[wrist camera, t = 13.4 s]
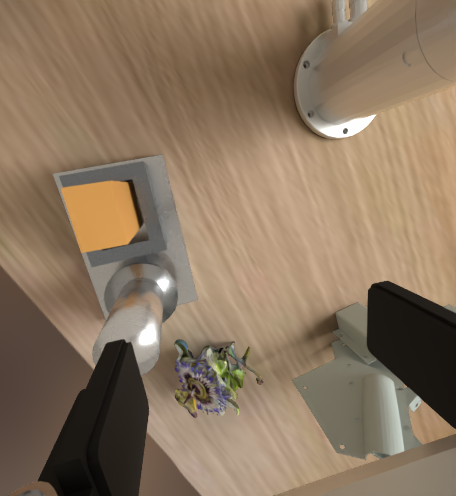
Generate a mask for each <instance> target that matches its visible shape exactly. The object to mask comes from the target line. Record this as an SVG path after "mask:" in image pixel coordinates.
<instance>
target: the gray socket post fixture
mask: <svg viewBox="0 0 456 496" xmlns="http://www.w3.org/2000/svg"><path fill="white" fill-rule="evenodd" d="M53 177H54V179H55V182H56V185H57V188H58V190H59V193H60V196H61V199H62V201H63V204H64V207H65V210H66V212H67V215H68V218H69V221H70V223H71V226H72V222H71V219H70V216H69V213H68V210H67V207H66V204H65V201H64V197H63V194H62V191H61V188H64V187H70V186H77V185H84V184H91V183H97V182H104V181H121V182H132V183H133V185H134V190H135V194H136V198H137V202H138V206H139V210H140V214H141V218H142V222H143V225H142V227H141V228H140V229H139V230H138V232H137V233H136V234H135V236H134V237H133V238H132V239H131V241H130V242H129V243H128V244H127V245H122V246H116V247H111V248H106V249H101V250H95V251H90V252H85V253H82V256H83V259H84V262H85V264H86V267H87V270H88V273H89V275H90V278H91V281H92V284H93V286H94V289H95V292H96V295H97V297H98V300H99V303H100V306H101V308H102V311H103V314H104V317H105V319H106V322H105V324H104V326H103V328H102V330H101V332H100V334H99V336H98V338H97V340H96V342H95V344H94V347H93V353H92V355H93V360H94V363H95V365H97V362H98V360H99V358H100V356H101V353H102V351H103V349H104V346H105V344H106V343H108V342H112V341H116V340H121V339H125V341H126V343H127V342H131V343H132V346H133V349H134V353H135V356H136V360H137V364H138V367H139V371H140V374H141V376H142V375H144V374H146V373H147V372H149V371H150V370H151V369H152V368H153V367H154V365H155V364H156V362H157V360H158V358H159V352H160V340H161V327H162V323H163V322H164V321H166V320H167V319H168V318H169V317H170V316H171V315H172V313H173V312H174V310H175V308H176V306H177V305H181V304H185V303H189V302H192V301H196V300H198V297H197V293H196V289H195V285H194V281H193V276H192V272H191V268H190V264H189V260H188V256H187V252H186V248H185V244H184V239H183V235H182V231H181V227H180V223H179V219H178V215H177V211H176V207H175V202H174V198H173V194H172V190H171V186H170V182H169V178H168V174H167V169H166V165H165V161H164V157H163V155H157V156H151V157H146V158H140V159H134V160H129V161H123V162H117V163H111V164H106V165H100V166H94V167H88V168H83V169H77V170H71V171H66V172H60V173H54V174H53ZM72 229H73V226H72ZM73 231H74V229H73ZM74 234H75V232H74ZM75 237H76V235H75ZM76 240H77V238H76ZM77 242H78V241H77ZM78 245H79V244H78ZM79 248H80V247H79ZM80 251H81V250H80Z"/></svg>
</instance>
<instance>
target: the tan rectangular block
mask: <svg viewBox="0 0 456 496" xmlns="http://www.w3.org/2000/svg"><path fill="white" fill-rule="evenodd" d="M61 191H62V194H63V197H64V201H65V204H66V207H67V210H68V213H69V216H70V219H71V222H72V226H73V229H74V232H75V235H76V238H77V241H78V244H79V247H80V250H81V253H85V252H90V251H95V250H101V249H106V248H111V247H116V246H122V245H127V244H128V243H129V242H130V241H131V239H132V238H133V237H134V236H135V234H136V233H137V232H138V230H139V229H140V228H141V227H142V225H143V222H142V218H141V214H140V210H139V206H138V202H137V198H136V194H135V190H134V185H133V183H132V182H121V181H104V182H97V183H91V184H84V185H77V186H70V187H64V188H61Z"/></svg>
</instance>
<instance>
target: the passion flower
mask: <svg viewBox="0 0 456 496" xmlns="http://www.w3.org/2000/svg"><path fill="white" fill-rule="evenodd" d="M234 343H235V342H233V343H232V344H231V346H227V347H226V348H220V349H215V348H214V347H213V348H212V347H211V346H206V347H205V348H204V349H203V351H202V353H201V354H200V356H199V357H198V358H196V359H194V358H193V355H192V352H191V351H189V350H188V346H187V344H186V342H185V341H184V340H180V339H178V340H176V342H175V343H174V345H175V346H176V347H177V350H178V352H179V357H178V358H177V360H176V363H177V365H176V367H175V370H176V372H178V375H179V378H180V382H183V385H182V387H183V388H184V389H180V390H178V389H176V390H175V392H176V393H177V394H175V398H176V400H177V401H178V403H179V404H180V405H181V406H183V407H185V408H186V409H188V411H189V413H190V414H191V415H192V416H193V417H194V418H196V417H197V413H196V407H197V408H198V409H201V410H203V412H204V411H205V410H206V412H207V414H208V413H209V412H210V411H211V412H213V413H215V412H218V414H219V415H220V416H223V415H224V413H225V408H227V407H226V406H225V405H227V406H229V407H231V408H234V410H235V412H236V413H237V414H236V415H239V407H238V405H237V404H236V403H235V402H234V401H233V400H232V399H231V398H234V400H236V399H237V398H238V395H237V393H236V392H235V391H236V389H237V388H238V387H240V388H242V387H243V377H244V376H245V374H246V372H245V371H244V370H242V369H241V367H243V366H245V367H246V368H247V369H249V370H250V371H251V372H253V373H255V374H256V375H257V376H258V377H260V378H261V379H262V377H261V376H260V375H259V374H258V373H256V372H255V371H254V370H252V369H251V368H249V367H247V366H246V364H245V362H246V359H247V357H248V354H249V352H250V347H248V349H247V351H246V353H245V355H244V356H243V358H242V359H238V358H236V355H235V351H234ZM222 351H224V357H223V355H222ZM218 354H219V357H218ZM229 355H230V356H231V357H233V358H234V359H235V360H236V361H237V364H236V365H231V364H230V362H229ZM226 362H227V363H228V369H227V366H226V365H227V363H226ZM221 377H224V378H223V380H222V378H221ZM256 380H257V383H258V384H259V385H262V383H263V379H262V380H260V379H259V378H256ZM218 414H217V415H218Z"/></svg>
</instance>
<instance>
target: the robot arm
mask: <svg viewBox="0 0 456 496" xmlns="http://www.w3.org/2000/svg"><path fill="white" fill-rule="evenodd" d="M349 8H350V20H346V19H345V10H346V7H345V0H332V15H333V23H334V24H333V25H332V27H331V29H328V30H327V31H325V32H323V33H321V34H320V35H319V36H318V37H317V38H315V39H314V40H313V41H312V42H311V43H310V45H309V46H308V47H307V48H306V49H305V51H304V53H303V54H302V56H301V57H300V60H299V62H298V65H297V68H296V72H295V77H294V97H295V102H296V106H297V109H298V112H299V114H300V116H301V118H302V119H303V121H304V122H305V124H306V125H307V126H308V127H309V128H310V129H311V130H312V131H313V132H315V133H316V134H318V135H319V136H322V137H325V138H328V139H342V138H346V137H350V136H352V135H354V134H357V133H359V132H360V131H361V130H363V129H364V128H365V127H366V126H367V125H368V124H369V123H370V122H371V121H372V119H373V118H374V116H375V115H376V114H379V113H381V112H384V111H387V110H390V109H393V108H396V107H398V106H401V105H404V104H407V103H410V102H413V101H415V100H418V99H421V98H424V97H427V96H430V95H432V94H435V93H438V92H441V91H444V90H447V89H449V88H452V87H455V86H456V0H377V1H376V2H375V3H374V4H373V5H372V6H371V7H370V8H369V9H367V0H349ZM308 115H309V117H308ZM367 348H368V350H369V352H370V353H371V354H372V355H373V356H374V357H375V358H376V359H377V360H378V361H380V362H381V363H382V364H383V365H384V366H385V367H386V368H387V369H388V370H390V371H391V372H392V373H393V374H394V375H395V376H396V377H397V378H399V379H400V380H401V381H402V382H403V383H404V384H405V385H406V386H407V387H409V388H410V389H411V390H412V391H413V392H414V393H415V394H416V395H418V396H419V397H420V398H421V399H422V400H423V401H424V402H425V403H426V404H428V405H429V406H430V407H431V408H432V409H433V410H434V411H435V412H436V413H438V414H439V415H440V416H441V417H442V418H443V419H444V420H445V421H447V422H448V423H449V424H450V425H451V426H452V427H454V428H455V429H456V313H455V312H453V311H451V310H449V309H447V308H444V307H442V306H440V305H438V304H436V303H434V302H432V301H430V300H428V299H425V298H423V297H421V296H419V295H417V294H415V293H413V292H411V291H409V290H407V289H404V288H402V287H400V286H398V285H396V284H394V283H392V282H389V281H383V282H379V283H374V284H372V285H371V288H370V289H369V290H368V309H367ZM148 415H149V405H148V399H147V396H146V392H145V389H144V385H143V382H142V378H141V374H140V371H139V367H138V364H137V360H136V356H135V353H134V349H133V346H132V343H131V342H127V343H126V341H125V339H121V340H116V341H112V342H108V343H106V344H105V346H104V349H103V351H102V353H101V356H100V358H99V360H98V362H97V365H96V367H95V369H94V371H93V374H92V376H91V378H90V380H89V383H88V385H87V387H86V389H83V390H82V391H80V393H79V394H78V396H77V398H76V400H75V402H74V404H73V407H72V409H71V411H70V413H69V415H68V417H67V420H66V421H65V424H64V426H63V428H62V430H61V432H60V434H59V437H58V439H57V441H56V443H55V445H54V447H53V449H52V451H51V454H50V456H49V458H48V460H47V462H46V464H45V467H44V469H43V471H42V473H41V475H40V477H39V479H38V481H37V482H34V483H30V484H28V485H25V486H24V487H21V488H19V489H17V490H16V491H14V492H13V493H11V494H10V495H8V496H138V494H139V486H140V478H141V470H142V462H143V455H144V447H145V439H146V431H147V423H148ZM274 496H456V434H454V435H451V436H448V437H445V438H442V439H439V440H436V441H433V442H430V443H427V444H424V445H421V446H418V447H415V448H412V449H409V450H406V451H403V452H400V453H397V454H394V455H391V456H388V457H385V458H383V459H380V460H377V461H374V462H371V463H368V464H365V465H362V466H359V467H356V468H353V469H350V470H347V471H344V472H341V473H338V474H335V475H332V476H329V477H326V478H323V479H321V480H318V481H315V482H312V483H309V484H306V485H303V486H300V487H297V488H294V489H291V490H289V491H286V492H283V493H280V494H277V495H274Z"/></svg>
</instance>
